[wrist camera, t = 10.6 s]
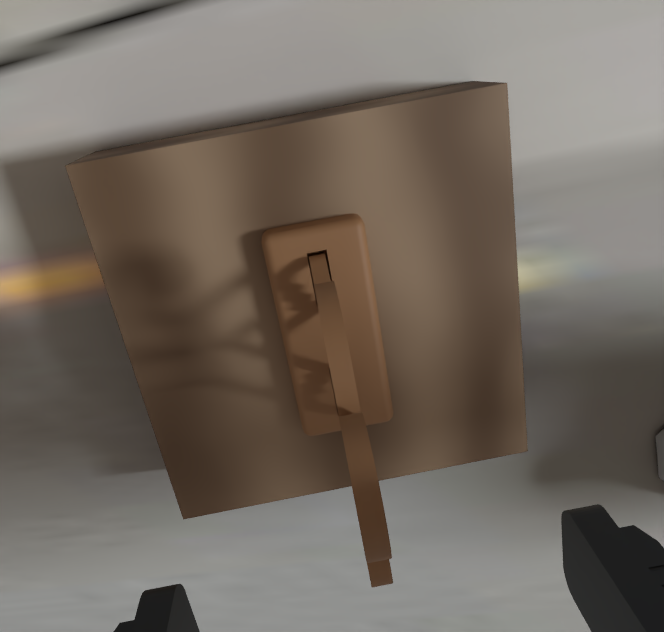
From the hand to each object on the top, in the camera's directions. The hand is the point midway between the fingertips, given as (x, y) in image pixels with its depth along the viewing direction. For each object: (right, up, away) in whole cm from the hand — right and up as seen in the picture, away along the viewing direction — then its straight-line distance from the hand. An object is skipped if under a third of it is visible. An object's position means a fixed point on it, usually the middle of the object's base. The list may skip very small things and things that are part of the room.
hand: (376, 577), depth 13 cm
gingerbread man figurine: (-1, +5, +12) cm, 13 cm away
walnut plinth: (-2, +6, +16) cm, 17 cm away
